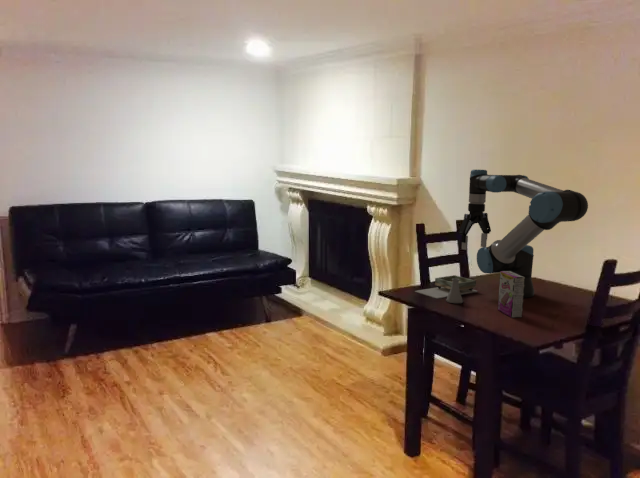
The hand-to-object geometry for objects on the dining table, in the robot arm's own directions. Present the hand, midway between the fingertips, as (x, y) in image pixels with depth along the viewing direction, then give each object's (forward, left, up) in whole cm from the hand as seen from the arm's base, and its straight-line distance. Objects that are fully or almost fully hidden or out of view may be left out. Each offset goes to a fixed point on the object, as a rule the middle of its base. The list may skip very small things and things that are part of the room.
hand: (473, 248), depth 271 cm
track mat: (0, +17, -19) cm, 25 cm away
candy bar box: (-38, +20, -19) cm, 47 cm away
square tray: (0, +11, -19) cm, 22 cm away
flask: (-14, +26, -19) cm, 36 cm away
